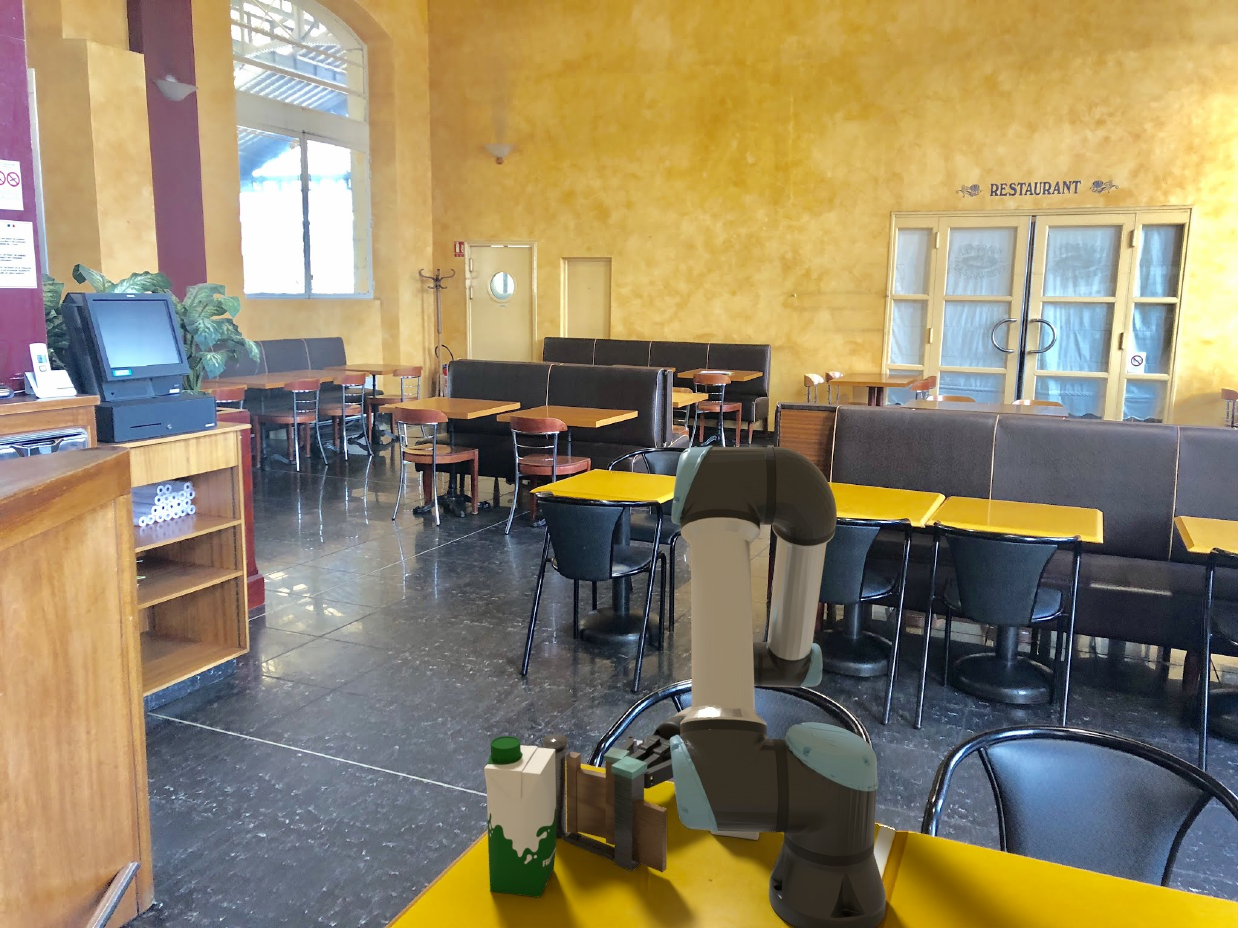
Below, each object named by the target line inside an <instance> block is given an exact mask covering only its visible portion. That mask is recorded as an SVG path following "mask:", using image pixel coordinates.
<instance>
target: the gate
mask: <svg viewBox="0 0 1238 928" xmlns="http://www.w3.org/2000/svg"><path fill="white" fill-rule="evenodd" d="M581 756H582V754H581V753H580V752H575V751H570V752H569V753H568V754H566V833H567V832H570V833H574V834H577V833H580V834H584V835H589V836H594V837H596V838H597V837H598V838H601V839H605V844H608V845H611V846H615V819H614V773H612V772H611V765H613V764H615V763H616V762H618V761H619V760H621V759H623V758H624V757H626V756H628V757H629V751H627V750H622V749H620V748H617V747H610V749H609V750H607V751H606V753H604V754H603V761H604V762H605V772H601V771H595V770H591V769H586V768H583V767H582V762H581V761H582V757H581Z"/></svg>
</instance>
